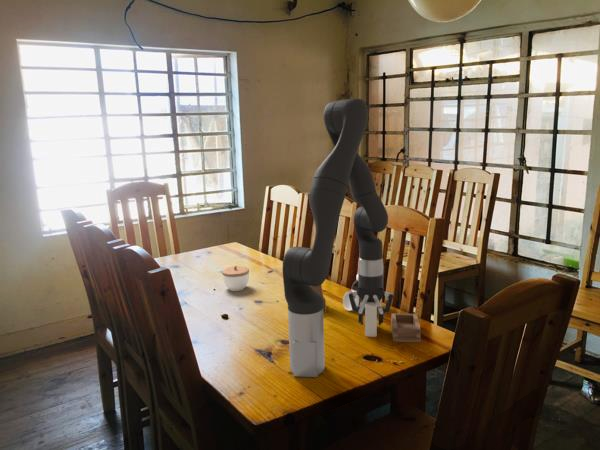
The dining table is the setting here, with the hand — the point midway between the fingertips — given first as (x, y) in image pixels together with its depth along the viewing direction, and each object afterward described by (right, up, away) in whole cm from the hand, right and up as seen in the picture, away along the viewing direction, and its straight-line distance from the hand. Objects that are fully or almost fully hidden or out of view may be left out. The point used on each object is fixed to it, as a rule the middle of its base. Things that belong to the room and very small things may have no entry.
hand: (370, 323), depth 151 cm
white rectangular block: (0, -2, +1) cm, 2 cm away
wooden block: (-16, +1, +21) cm, 26 cm away
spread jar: (0, +1, +19) cm, 19 cm away
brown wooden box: (+10, -3, -2) cm, 11 cm away
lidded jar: (-47, +5, +44) cm, 65 cm away
